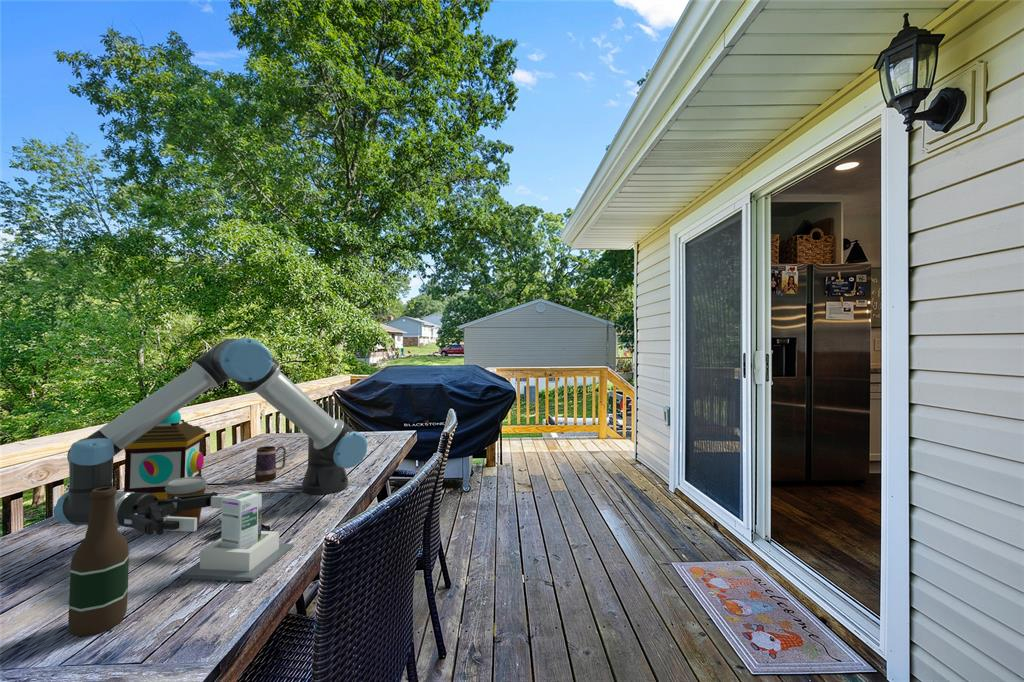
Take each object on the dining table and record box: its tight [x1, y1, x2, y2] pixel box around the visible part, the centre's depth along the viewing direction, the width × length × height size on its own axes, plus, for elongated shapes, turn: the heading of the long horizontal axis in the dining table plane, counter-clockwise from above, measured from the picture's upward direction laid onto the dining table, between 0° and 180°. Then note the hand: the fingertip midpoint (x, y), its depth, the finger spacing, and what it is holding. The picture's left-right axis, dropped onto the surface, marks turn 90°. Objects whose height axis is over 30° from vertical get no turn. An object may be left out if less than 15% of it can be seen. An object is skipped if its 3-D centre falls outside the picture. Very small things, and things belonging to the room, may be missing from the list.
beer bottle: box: [67, 486, 130, 638], centre depth 80 cm, size 8×8×24 cm
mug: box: [254, 444, 287, 483], centre depth 167 cm, size 10×7×12 cm
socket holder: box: [179, 530, 295, 582], centre depth 103 cm, size 16×16×5 cm
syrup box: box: [220, 490, 263, 549], centre depth 103 cm, size 6×6×14 cm
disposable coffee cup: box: [165, 476, 208, 525], centre depth 124 cm, size 10×10×12 cm
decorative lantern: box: [123, 410, 207, 500], centre depth 141 cm, size 20×20×30 cm
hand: (218, 513), depth 103 cm, fingers open, 13 cm apart
